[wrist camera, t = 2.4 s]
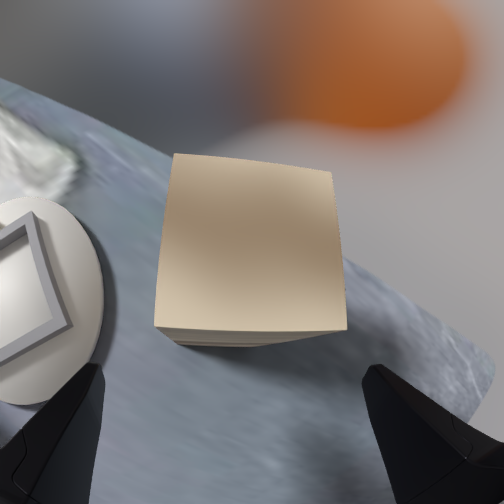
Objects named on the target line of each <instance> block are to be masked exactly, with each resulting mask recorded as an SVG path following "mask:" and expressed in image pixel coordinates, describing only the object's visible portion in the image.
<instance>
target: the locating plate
mask: <svg viewBox="0 0 504 504" xmlns="http://www.w3.org/2000/svg"><path fill="white" fill-rule="evenodd" d="M103 311H104V285H103V276H102V271H101V266H100V262H99V259H98V256H97V253H96V250H95V248H94V246H93V244H92V242H91V240H90V238H89V236H88V235H87V233H86V232H85V230H84V229H83V227H82V226H81V225H80V223H79V222H78V221H77V220H76V219H75V217H74V216H73V215H72V214H71V213H70V212H68V211H67V210H66V209H65V208H63V207H62V206H60V205H59V204H57V203H55V202H53V201H50V200H48V199H44V198H39V197H21V198H16V199H12V200H9V201H6V202H4V203H2V204H0V400H1V401H4V402H7V403H11V404H16V405H29V404H35V403H40V402H44V401H46V400H49V399H50V398H51V397H52V396H53V395H54V394H55V393H56V392H57V391H58V390H59V389H60V388H61V387H62V386H63V385H64V384H65V383H66V382H67V381H68V380H69V379H70V378H71V377H72V376H73V375H74V374H75V373H76V372H77V371H78V370H79V369H80V368H81V367H82V366H83V365H84V364H86V363H87V362H89V360H90V358H91V356H92V354H93V352H94V350H95V347H96V344H97V341H98V338H99V334H100V330H101V325H102V320H103Z"/></svg>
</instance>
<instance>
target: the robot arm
mask: <svg viewBox="0 0 504 504" xmlns="http://www.w3.org/2000/svg"><path fill="white" fill-rule="evenodd" d="M362 389H363V393H364V397H365V401H366V406H367V410H368V414H369V418H370V422H371V425H372V428H373V431H374V434H375V437H376V440H377V443H378V446H379V449H380V452H381V455H382V458H383V461H384V464H385V467H386V470H387V474H388V477H389V480H390V483H391V487H392V490H393V493H394V497H395V500H396V503H397V504H504V443H503V442H499V441H497V440H495V439H493V438H491V437H489V436H487V435H486V434H484V433H482V432H480V431H478V430H476V429H475V428H473V427H471V426H470V425H468V424H466V423H465V422H463V421H462V420H460V419H459V418H457V417H456V416H455V415H453V414H451V413H450V412H449V411H447V410H446V409H444V408H443V407H442V406H440V405H439V404H437V403H436V402H434V401H433V400H432V399H430V398H429V397H427V396H426V395H424V394H423V393H422V392H420V391H419V390H417V389H416V388H415V387H413V386H412V385H410V384H409V383H407V382H406V381H405V380H403V379H402V378H400V377H399V376H398V375H396V374H395V373H393V372H392V371H391V370H389V369H388V368H386V367H385V366H384V365H382V364H374V365H371V366H370V367H369V368H368V370H367V372H366V374H365V376H364V378H363V379H362ZM104 393H105V378H104V375H103V372H102V368H101V365H100V364H99V363H95V362H87V363H86V364H84V365H83V366H82V367H81V368H80V369H79V370H78V371H77V372H76V373H75V374H74V375H73V376H72V377H71V378H70V379H69V380H68V381H67V382H66V383H65V384H64V385H63V386H62V387H61V388H60V389H59V390H58V391H57V392H56V393H55V394H54V395H53V396H52V397H51V398H50V399H49V400H48V401H47V402H46V403H45V404H44V405H43V406H42V407H41V408H40V409H39V411H38V412H37V413H36V414H35V415H34V416H33V417H32V418H31V419H30V420H29V421H28V422H27V423H26V424H25V425H24V426H23V427H22V429H20V430H19V431H18V432H17V433H16V434H15V435H14V436H13V437H12V438H11V439H10V440H9V441H8V442H7V443H6V444H5V445H4V446H3V447H2V448H1V449H0V504H89V496H90V489H91V482H92V475H93V469H94V462H95V457H96V451H97V446H98V441H99V435H100V430H101V423H102V412H103V402H104Z"/></svg>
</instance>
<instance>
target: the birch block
mask: <svg viewBox="0 0 504 504" xmlns="http://www.w3.org/2000/svg"><path fill="white" fill-rule="evenodd" d="M154 327H156V328H157V329H158V330H159V331H161V332H162V333H163V334H165V335H166V336H167V337H169V338H170V339H171V340H173V341H174V342H175V343H177V344H180V345H198V346H223V347H256V346H263V345H269V344H275V343H282V342H288V341H293V340H299V339H305V338H310V337H315V336H320V335H325V334H330V333H335V332H340V331H345V330H347V315H346V298H345V285H344V273H343V262H342V252H341V242H340V233H339V225H338V217H337V209H336V202H335V195H334V188H333V181H332V175H331V172H326V171H320V170H315V169H308V168H302V167H296V166H289V165H282V164H275V163H268V162H260V161H252V160H243V159H234V158H224V157H214V156H202V155H190V154H174V158H173V163H172V169H171V175H170V181H169V187H168V194H167V200H166V207H165V215H164V222H163V230H162V238H161V247H160V256H159V266H158V277H157V289H156V303H155V319H154Z"/></svg>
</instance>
